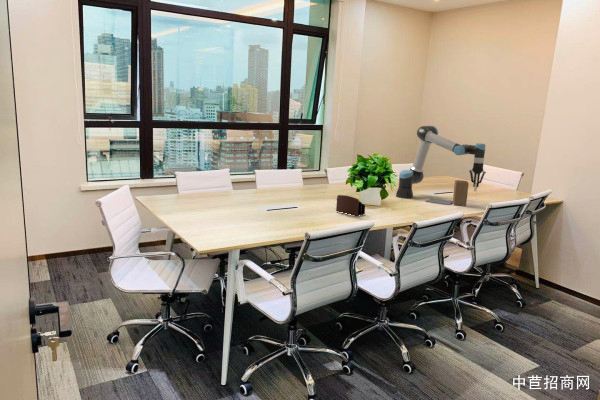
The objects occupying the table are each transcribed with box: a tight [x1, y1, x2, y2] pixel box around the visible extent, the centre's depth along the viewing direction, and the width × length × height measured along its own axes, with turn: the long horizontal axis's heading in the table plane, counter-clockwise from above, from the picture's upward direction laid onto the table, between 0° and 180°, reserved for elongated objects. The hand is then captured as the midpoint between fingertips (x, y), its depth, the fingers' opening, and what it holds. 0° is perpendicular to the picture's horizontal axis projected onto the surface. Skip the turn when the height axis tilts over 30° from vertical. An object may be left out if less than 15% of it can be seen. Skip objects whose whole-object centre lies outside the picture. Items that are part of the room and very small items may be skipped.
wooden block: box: [452, 179, 469, 207], centre depth 386 cm, size 10×10×20 cm
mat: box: [425, 197, 453, 206], centre depth 397 cm, size 20×16×1 cm
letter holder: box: [335, 194, 366, 217], centre depth 346 cm, size 10×20×14 cm, turn 48°
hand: (475, 191), depth 380 cm, fingers closed
